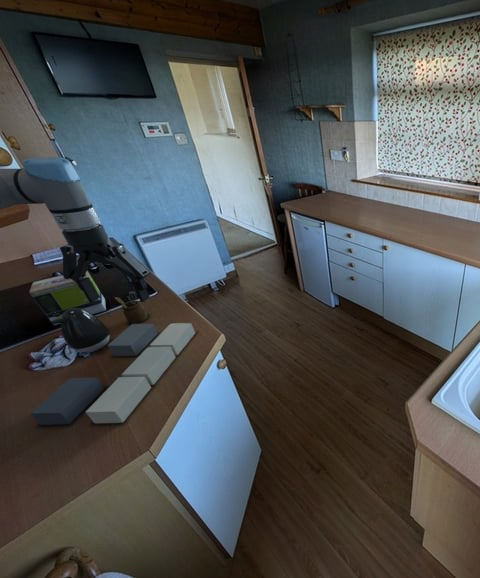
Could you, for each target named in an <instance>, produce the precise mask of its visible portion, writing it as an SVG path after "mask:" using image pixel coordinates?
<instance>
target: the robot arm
mask: <svg viewBox="0 0 480 578" xmlns="http://www.w3.org/2000/svg"><path fill="white" fill-rule="evenodd" d="M22 166H23V168H0V211H1V210H5V209H8V208H11V207H15V206H19V205H36V204H37V205H41V204H45V206H46V208H47V210H48V211H49V212H50V214H51V216H52V218H53V220H54V221H55V223H56V225H57V227H58V228H59V229H60V230H62V231H61V234H62V236H63V238H64V239H65V241H66V244H65V245H63V246H60V247H59V250H60V253H61V254H62V275H63V277H64V278H65V279H72V280H73V281H75V282H76V283H77V285H78V287H79V288H80V290H81V291H83V292H84V294H85V295H86V297H87V299H88V300H89V302H94V301H95V300H97V299H98V298H100V296H99V294H98V292H97V291H96V289H95V287H94V285H93V283H92V282H91V280H90V278H89V277H85V276H87V275H86V272H87V271H88V270H89V268H90V265H91V264H95V263H99V264H106V265H108V266H111V267H113V268H114V269H116V270H117V271H119V272H120V273H122V274H123V275H125V276H127V278H130V279H131V281H130V283H131V285H132V287H133V289H134V292H135V294H136V296H137V298H138V299H139V302H140V303H144V302H146V301H147V300H148V299H150V297H151V296H150V294H149V292H148V289H147V288H148V285H147V283H146V280H145V278H147V277H148V276H149V275H150V271H149V270H147V268H145V267H144V266H143V265H142V264H141V262H139V261H138V260H137V259H136V258H135V257H134V256H133V255H132V254H131V253H130V252H129V251H128V250H127V248H126V246H125V245H124V244H123V243H118V244H116V245H111V244H110V243H109V236H108V233H107V232H106V230H105V228H104V225H103V224H100V223H101V219H100V217H99V215H98V213H97V211H96V209H95V206H93V204H92V202H91V199H90V197H89V196H88V194H87V191H86V189H85V187H84V185H83V182H82V180H81V177H80V176H79V175H78V172H77V171H76V169H75V168H74V166H73V163H72V162H71V161H70V160H69V159H67V158H65V157H61V156H48V157H47V156H46V157H44V156H43V157H32V158H25V159H23V160H22ZM77 255H78V256H79V257H78V258H77ZM84 277H85V278H84Z"/></svg>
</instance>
